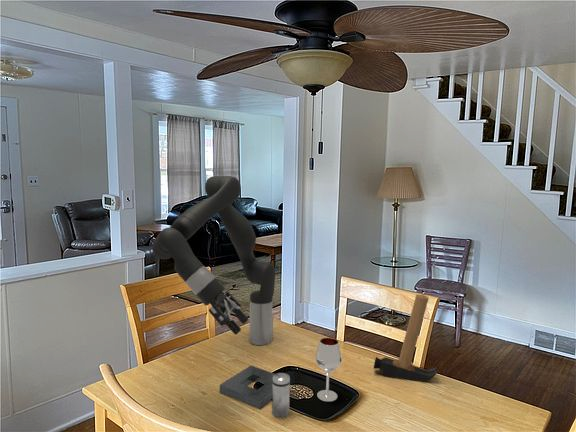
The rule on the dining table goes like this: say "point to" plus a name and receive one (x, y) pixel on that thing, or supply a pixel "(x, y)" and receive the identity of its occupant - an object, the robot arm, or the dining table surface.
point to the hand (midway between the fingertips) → (242, 326)
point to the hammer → (408, 349)
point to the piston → (280, 395)
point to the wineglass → (328, 364)
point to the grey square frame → (246, 394)
